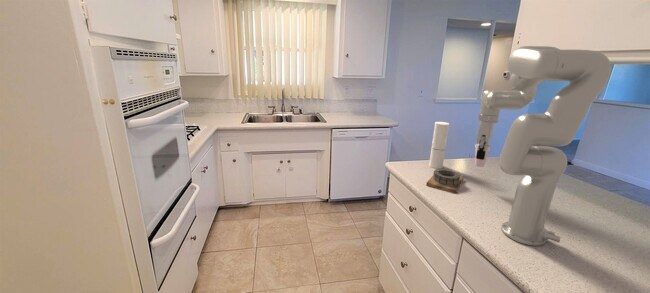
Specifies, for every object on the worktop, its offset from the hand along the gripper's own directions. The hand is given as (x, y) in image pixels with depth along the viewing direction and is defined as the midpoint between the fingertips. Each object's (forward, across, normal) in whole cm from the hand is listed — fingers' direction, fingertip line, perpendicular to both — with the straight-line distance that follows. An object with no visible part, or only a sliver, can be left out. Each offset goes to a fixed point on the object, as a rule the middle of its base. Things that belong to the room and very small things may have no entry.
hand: (481, 156), depth 125 cm
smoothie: (+4, 0, 0) cm, 4 cm away
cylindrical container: (+14, -16, -23) cm, 31 cm away
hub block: (+15, +4, -13) cm, 20 cm away
